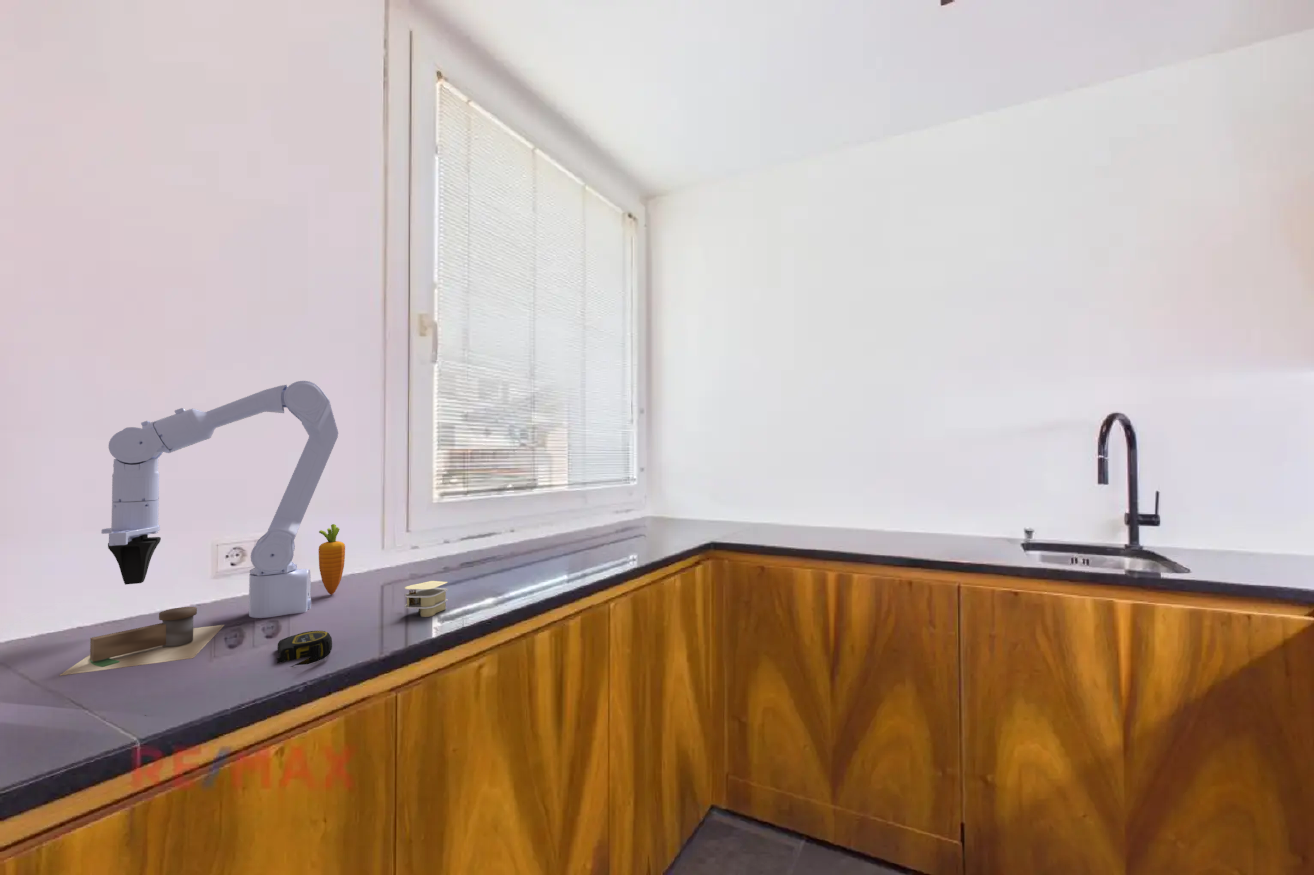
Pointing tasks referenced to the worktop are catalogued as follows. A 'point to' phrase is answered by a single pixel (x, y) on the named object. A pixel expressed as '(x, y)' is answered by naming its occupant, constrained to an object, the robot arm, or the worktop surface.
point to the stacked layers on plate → (427, 598)
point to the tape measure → (305, 647)
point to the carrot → (331, 559)
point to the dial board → (149, 654)
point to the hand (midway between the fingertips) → (134, 583)
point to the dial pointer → (147, 635)
